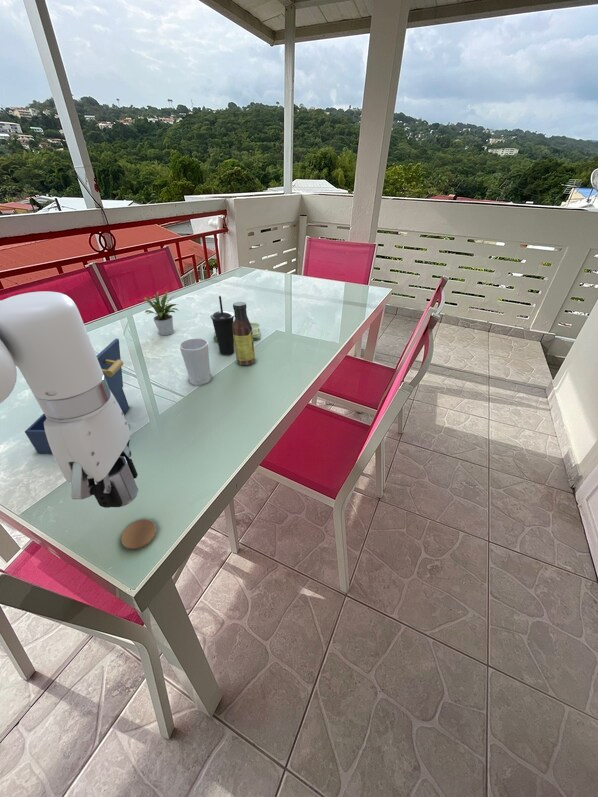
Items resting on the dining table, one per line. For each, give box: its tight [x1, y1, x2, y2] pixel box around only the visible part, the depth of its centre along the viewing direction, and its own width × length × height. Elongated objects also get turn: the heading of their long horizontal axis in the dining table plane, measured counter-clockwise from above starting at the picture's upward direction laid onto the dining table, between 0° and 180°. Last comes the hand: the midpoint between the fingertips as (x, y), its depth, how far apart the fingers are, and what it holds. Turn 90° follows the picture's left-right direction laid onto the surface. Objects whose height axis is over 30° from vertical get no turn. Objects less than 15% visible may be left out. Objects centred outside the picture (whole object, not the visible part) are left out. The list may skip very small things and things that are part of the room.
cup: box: [178, 337, 212, 386], centre depth 98 cm, size 8×8×12 cm
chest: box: [24, 387, 130, 455], centre depth 80 cm, size 13×18×7 cm
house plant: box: [139, 290, 179, 336], centre depth 125 cm, size 14×14×16 cm
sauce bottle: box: [232, 301, 256, 366], centre depth 106 cm, size 6×6×20 cm
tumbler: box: [94, 456, 139, 508], centre depth 51 cm, size 5×5×6 cm
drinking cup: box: [210, 295, 235, 356], centre depth 111 cm, size 8×8×20 cm
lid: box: [96, 338, 124, 397], centre depth 74 cm, size 14×18×4 cm
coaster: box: [120, 519, 157, 551], centre depth 58 cm, size 6×6×1 cm
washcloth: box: [213, 322, 261, 342], centre depth 128 cm, size 13×18×3 cm
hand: (119, 489), depth 52 cm, fingers closed on tumbler, 4 cm apart
